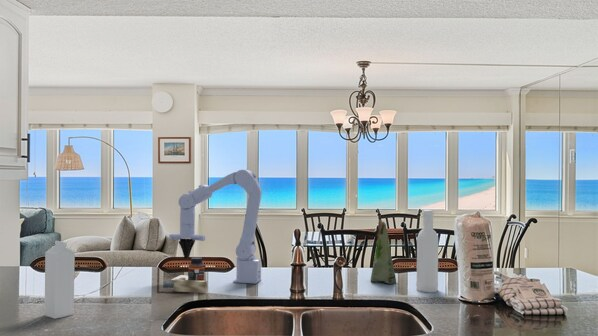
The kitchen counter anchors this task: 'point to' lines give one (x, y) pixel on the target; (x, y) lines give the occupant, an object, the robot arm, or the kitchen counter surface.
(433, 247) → the bottle
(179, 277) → the mat
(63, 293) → the milk
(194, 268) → the supplement bottle
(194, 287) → the corner holder
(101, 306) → the kitchen counter surface
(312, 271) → the kitchen counter surface
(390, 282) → the pouch
